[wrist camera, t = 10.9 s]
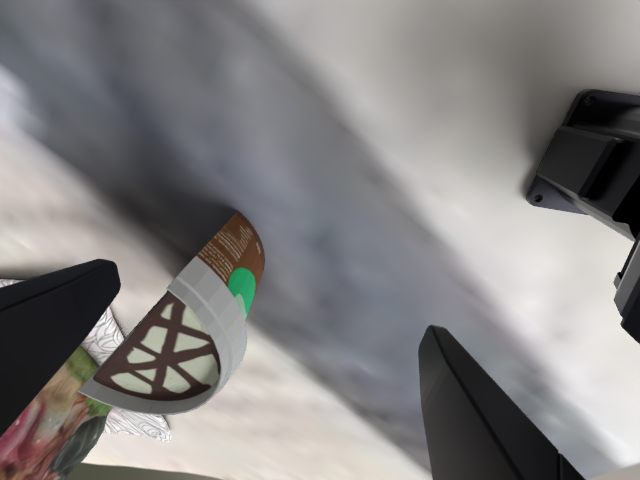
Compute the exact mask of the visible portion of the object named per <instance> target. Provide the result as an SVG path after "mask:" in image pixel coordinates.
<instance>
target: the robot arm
mask: <svg viewBox="0 0 640 480" xmlns="http://www.w3.org/2000/svg"><path fill="white" fill-rule="evenodd" d="M589 95H590V97H591V98H590V101H589V102H588V103H587V104H584V100H585V99H586V97H587V96H589ZM536 195H540V196H539V198H538V199H536V200H534V197H535V196H536ZM526 200H527V202H528V203H530V204H531V205H533V206H537V207H543V208H549V209H555V210H561V211H567V212H573V213H579V214H585V215H590V216H592V217H594V218H595V219H597V220H599V221H600V222H602V223H603V224H605V225H607V226H608V227H610V228H612V229H613V230H615V231H617V232H618V233H620V234H622V235H623V236H625V237H627V238H628V239H630V240H631V241H633V242H634V245H633V247H632V249H631V251H630V253H629V256H628V258H627V260H626V262H625V264H624V267H623V269H622V271H621V272H618V273H617V275H616V277H615V280H614V285H615V287H616V289H617V291H616V294H615V298H614V301H615V304H616V306H617V308H618V311H619V313H620V315H621V316H622V317H623V319H622V321H621V323H620V324H621V326H622V328H623V329H624V330H625V331H626V332H627V333H628V334H629V335H630V336H632V337H633V338H634V339H635V340H636V341H637V342H638V343H639V344H640V96H635V95H628V94H621V93H615V92H608V91H601V90H594V89H587V90H584V91H582V92H580V93H579V94H578V95H577V97H576V98H575V100H574V102H573V104H572V106H571V108H570V110H569V112H568V114H567V116H566V118H565V120H564V122H563V124H562V126H561V128H559V129H558V130H557V131H556V133H555V135H554V137H553V139H552V141H551V143H550V145H549V147H548V149H547V151H546V153H545V155H544V157H543V159H542V161H541V163H540V165H539V167H538V169H537V176H536V178H535V180H534V182H533V184H532V186H531V188H530V190H529V192H528V194H527V196H526ZM120 287H121V283H120V278H119V274H118V269H117V265H116V264H115V262H113V261H109V260H104V259H96V260H92V261H89V262H86V263H82V264H79V265H75V266H72V267H69V268H65V269H62V270H58V271H55V272H51V273H48V274H45V275H41V276H38V277H34V278H31V279H28V280H24V281H21V282H17V283H14V284H11V285H7V286H4V287H0V438H1V437H2V436H3V435H4V433H5V432H6V431H7V430H8V429H9V428H10V426H11V425H12V424H13V423H14V422H15V421H16V419H17V418H18V417H19V416H20V415H21V414H22V412H23V411H24V410H25V409H26V408H27V407H28V405H29V404H30V403H31V402H32V401H33V400H34V398H35V397H36V396H37V395H38V394H39V393H40V391H41V390H42V389H43V388H44V387H45V386H46V385H47V383H48V382H49V381H50V380H51V379H52V378H53V376H54V375H55V374H56V373H57V372H58V371H59V369H60V368H61V367H62V366H63V365H64V364H65V362H66V361H67V360H68V359H69V358H70V357H71V355H72V354H73V353H74V352H75V351H76V350H77V348H78V347H79V346H80V345H81V344H82V342H83V341H84V340H85V339H86V337H87V336H88V335H89V333H90V332H91V331H92V329H93V328H94V327H95V325H96V324H97V322H98V321H99V320H100V318H101V317H102V315H103V314H104V312H105V311H106V310H107V308H108V307H109V305H110V304H111V303H112V301H113V300H114V298H115V297H116V295H117V294H118V292H119V290H120ZM418 355H419V374H420V394H421V408H422V415H423V422H424V428H425V434H426V440H427V446H428V453H429V459H430V465H431V471H432V477H433V480H586V479H585V478H584V477H583V476H582V475H581V474H580V473H579V472H578V471H577V470H576V469H575V468H574V467H573V465H572V464H571V463H570V462H569V461H568V460H567V459H566V458H565V457H564V456H563V455H562V454H560V453H559V452H558V449H557V448H556V447H555V446H554V445H553V444H552V443H551V442H550V441H549V440H548V439H547V437H546V436H545V435H544V434H543V433H542V432H541V431H540V430H539V429H538V428H537V427H536V426H535V424H534V423H533V422H532V421H531V420H530V419H529V418H528V417H527V416H526V415H525V414H524V413H523V411H522V410H521V409H520V408H519V407H518V406H517V405H516V404H515V403H514V402H513V401H512V399H511V398H510V397H509V396H508V395H507V394H506V393H505V392H504V391H503V390H502V389H501V388H500V386H499V385H498V384H497V383H496V382H495V381H494V380H493V379H492V378H491V377H490V376H489V375H488V373H487V372H486V371H485V370H484V369H483V368H482V367H481V366H480V365H479V364H478V363H477V362H476V360H475V359H474V358H473V357H472V356H471V355H470V354H469V353H468V352H467V351H466V350H465V349H464V347H463V346H462V345H461V344H460V343H459V342H458V341H457V340H456V339H455V338H454V337H453V336H452V334H451V333H450V332H449V331H448V330H447V329H446V328H444V327H440V326H435V325H430V326H428V328H427V330H426V332H425V334H424V336H423V339H422V341H421V343H420V345H419V351H418Z"/></svg>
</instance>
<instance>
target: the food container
mask: <svg viewBox="0 0 640 480" xmlns="http://www.w3.org/2000/svg"><path fill="white" fill-rule="evenodd" d="M264 264H265V256H264V250H263V246H262V243H261V240H260V238H259V236H258V234H257V232H256V231H255V229H254V227H253V226H252V225H251V224H250V222H249V221H248V220H247V219H246V218H245V217H244V216H243V215H242V214H241V213H240V212H239V211H237V212H236V214H235V215H234V216H233V217H232V218H231V219H230V220H229V221H228V222H227V223H226V224H225V225H224V226H223V228H222V229H221V230H220V231H219V232H218V233H217V234H216V235H215V236H214V237H213V238H212V239H211V240H210V242H209V243H208V244H207V245H206V246H205V247H204V248H203V249H202V250H201V251H200V252H199V253H198V254H197V256H195V257H194V258H193V259H192V260H191V262H190V263H189V264H188V265H187V266H186V267H185V268H184V269H183V270H182V271H181V272H180V274H179V275H178V276H177V277H176V278H175V279H174V280H173V281H172V282H171V284H170V285H169V286H168V287H167V288H166V289H167V292H166V294H165V295H164V296H163V297H162V298H161V299H160V300H159V301H158V302H157V304H156V305H155V306H153V308H152V309H151V310H150V311H149V312H148V314H147V315H146V316H145V317H144V318H143V319H142V320H141V321H140V322H139V324H138V325H137V326H136V327H135V328H134V329H133V330H132V331H131V332H130V334H129V335H128V336H127V337H126V338H125V339H124V340H123V341H122V342H121V344H120V345H119V346H118V347H117V348H116V349H115V350H114V351H113V352H112V354H111V355H110V356H109V357H108V358H107V359H106V360H105V361H104V362H103V364H102V365H101V366H100V367H99V368H98V369H97V370H96V371H95V372H94V374H93V375H92V376H91V377H90V378H89V379H88V380H87V381H86V382H85V384H84V385H83V386H82V387H81V388H80V389H79V390H78V392H80V393H82V394H84V395H86V396H88V397H90V398H92V399H94V400H97V401H99V402H101V403H104V404H106V405H109V406H112V407H115V408H118V409H122V410H126V411H130V412H135V413H141V414H148V415H175V414H180V413H185V412H188V411H191V410H194V409H197V408H198V407H200V406H202V405H204V404H205V403H207V402H208V401H209V400H210V399H211V398H212V397H213V396H214V395H216V394H217V393H218V392H219V391H220V390H221V389H222V388H223V387H224V385H225V384H226V383H227V381H228V380H229V379H230V377H231V376H232V375H233V373H234V372H235V370H236V369H237V368H238V366H239V365H240V363H241V361H242V360H243V357H244V354H245V351H246V344H247V333H246V325H245V319H246V317H247V314H248V311H249V309H250V306H251V303H252V300H253V298H254V295H255V292H256V289H257V287H258V284H259V281H260V279H261V276H262V273H263V270H264Z"/></svg>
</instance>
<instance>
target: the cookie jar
mask: <svg viewBox="0 0 640 480" xmlns="http://www.w3.org/2000/svg"><path fill="white" fill-rule="evenodd" d="M21 281H24V280H20V281H18V280H13V279H11V280H7V279H0V287H4V286H7V285H11V284H14V283H17V282H21ZM123 340H124V337H123V335H122V333H121V331H120V329H119V327H118V326H117V324H116V322H115V320H114V318H113V316H112V313H111V310H110V307H108V308H107V310H106V311H105V312H104V314H103V315H102V317H101V318H100V320H99V321H98V322H97V324H96V325H95V327H94V328H93V329H92V331H91V332H90V333H89V335H88V336H87V337H86V339H85V340H84V341H83V342H82V344H81V345H80V346H79V347H78V348H77V350H76V351H75V352H74V353H73V354H72V355H71V357H70V358H69V359H68V360H67V361H66V362H65V364H64V365H63V366H62V367H61V368H60V369H59V371H58V372H57V373H56V374H55V375H54V376H53V378H52V379H51V380H50V381H49V382H48V383H47V385H46V386H45V387H44V388H43V389H42V390H41V391H40V393H39V394H38V395H37V396H36V397H35V398H34V400H33V401H32V402H31V403H30V404H29V405H28V407H27V408H26V409H25V410H24V411H23V412H22V414H21V415H20V416H19V417H18V418H17V419H16V421H15V422H14V423H13V424H12V425H11V426H10V428H9V429H8V430H7V431H6V432H5V433H4V435H3V436H2V437H1V438H0V480H66V478H67V476H68V475H69V473H70V472H71V471H72V470H73V469H74V468H75V467H76V466H77V465H78V464H79V463H80V462H81V461H83V460H84V459H85V457H86V456H87V454H88V453H89V452H90V450H91V449H92V448H93V447H94V446H95V445H96V443H97V441H98V439H99V437H100V435H101V434H102V433H111V434H117V433H129V434H137V435H143V436H150V437H153V438H155V439H157V440H160V441H165V442H169V441H170V439H171V432H170V430H169V427H168V425H167V422H166V421H165V419H164V418H163V416H162V415H148V414H141V413H135V412H130V411H126V410H122V409H118V408H115V407H112V406H109V405H106V404H104V403H101V402H99V401H97V400H94V399H92V398H90V397H88V396H86V395H84V394H82V393H80V392H78V390H79V389H80V388H81V387H82V386H83V385H84V384H85V382H86V381H87V380H88V379H89V378H90V377H91V376H92V375H93V374H94V372H95V371H96V370H97V369H98V368H99V367H100V366H101V365H102V364H103V362H104V361H105V360H106V359H107V358H108V357H109V356H110V355H111V354H112V352H113V351H114V350H115V349H116V348H117V347H118V346H119V345H120V344H121V342H122V341H123Z"/></svg>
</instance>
